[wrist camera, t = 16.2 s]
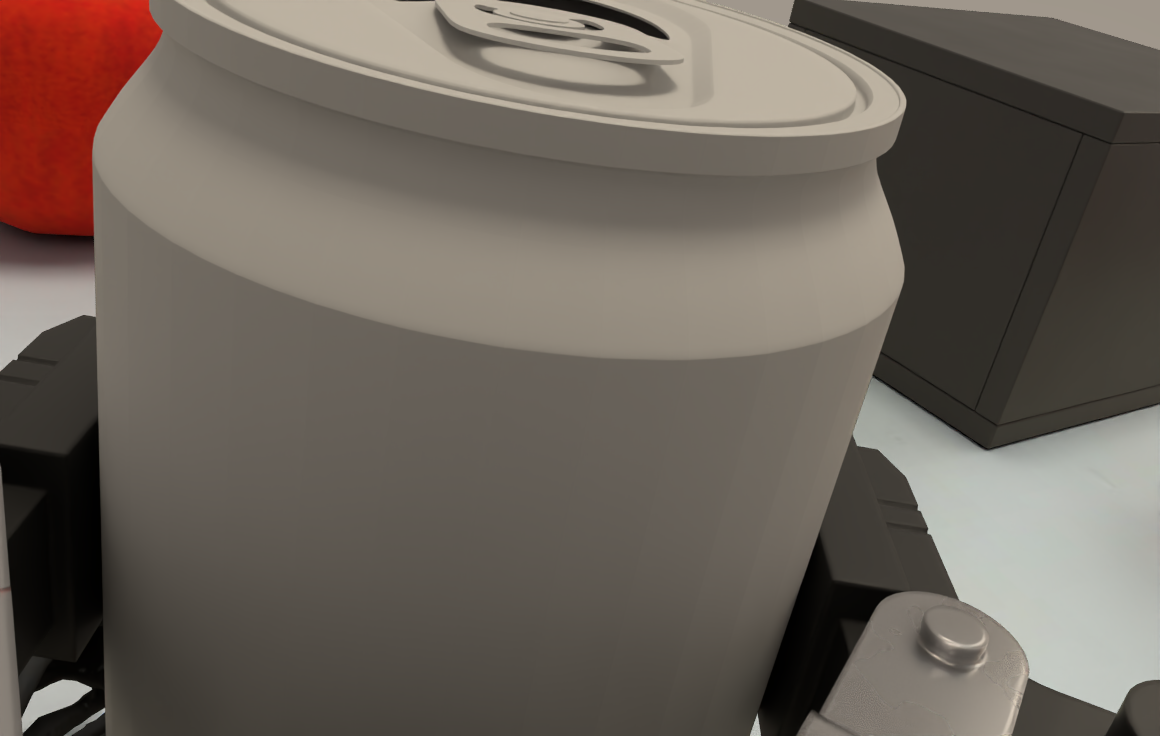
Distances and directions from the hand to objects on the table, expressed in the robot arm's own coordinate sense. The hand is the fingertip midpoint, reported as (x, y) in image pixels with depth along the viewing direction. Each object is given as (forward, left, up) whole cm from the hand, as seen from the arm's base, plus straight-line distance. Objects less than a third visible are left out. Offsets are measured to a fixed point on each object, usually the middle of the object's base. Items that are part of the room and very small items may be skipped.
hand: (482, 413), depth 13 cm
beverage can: (-2, 0, -7) cm, 8 cm away
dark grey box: (+23, -18, -8) cm, 30 cm away
